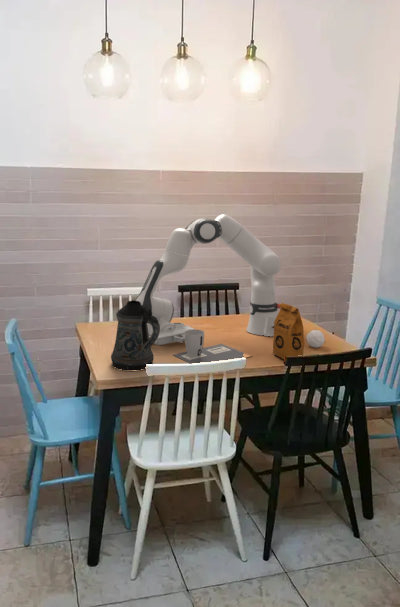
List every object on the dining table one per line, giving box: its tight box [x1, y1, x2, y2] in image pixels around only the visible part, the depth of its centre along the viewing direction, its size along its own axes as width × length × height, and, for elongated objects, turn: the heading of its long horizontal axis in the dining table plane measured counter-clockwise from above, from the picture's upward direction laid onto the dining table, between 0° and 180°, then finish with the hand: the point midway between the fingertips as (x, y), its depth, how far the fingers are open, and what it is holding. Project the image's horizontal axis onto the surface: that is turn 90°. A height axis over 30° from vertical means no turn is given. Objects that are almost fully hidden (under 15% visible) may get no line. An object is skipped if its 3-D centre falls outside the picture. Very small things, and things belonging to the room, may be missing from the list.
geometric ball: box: [306, 329, 326, 349], centre depth 235 cm, size 8×8×8 cm
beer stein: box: [110, 300, 160, 371], centre depth 208 cm, size 16×19×25 cm
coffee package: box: [272, 302, 305, 360], centre depth 219 cm, size 10×12×22 cm
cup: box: [184, 328, 205, 358], centre depth 220 cm, size 8×8×10 cm
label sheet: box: [172, 343, 245, 364], centre depth 222 cm, size 26×20×1 cm
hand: (184, 340), depth 225 cm, fingers closed
